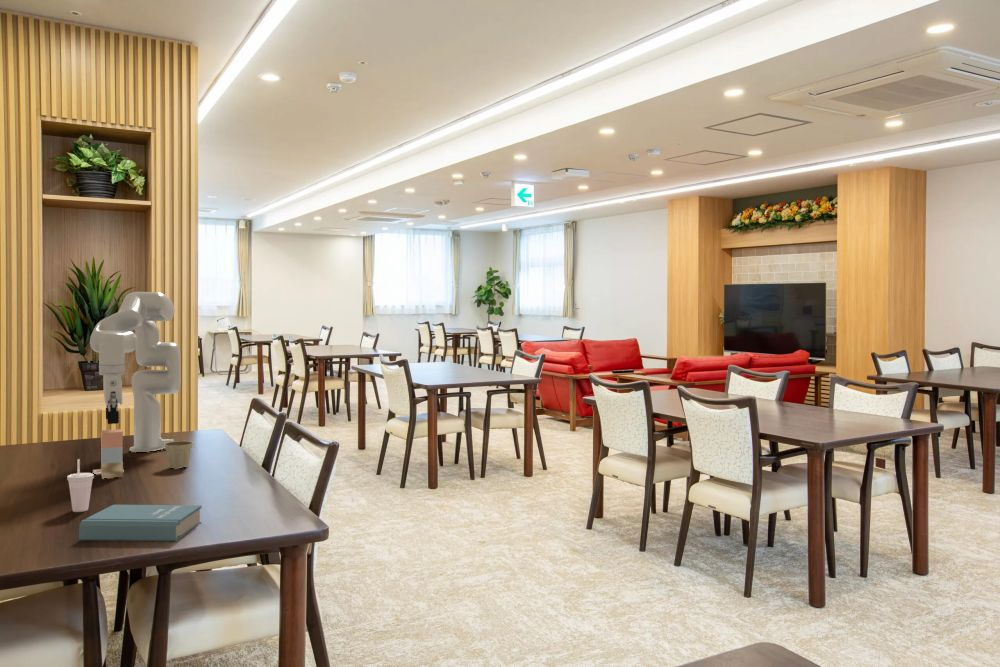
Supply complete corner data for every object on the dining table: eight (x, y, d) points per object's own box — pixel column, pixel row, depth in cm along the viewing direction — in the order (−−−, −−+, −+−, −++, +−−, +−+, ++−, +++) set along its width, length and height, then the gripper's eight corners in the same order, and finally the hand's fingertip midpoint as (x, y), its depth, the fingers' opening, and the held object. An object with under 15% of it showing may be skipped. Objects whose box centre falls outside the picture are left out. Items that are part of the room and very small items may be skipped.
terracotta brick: (121, 444, 246) (121, 429, 246) (122, 446, 241) (122, 431, 241) (101, 445, 243) (101, 430, 243) (101, 448, 238) (102, 433, 238)
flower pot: (168, 471, 250) (168, 446, 250) (160, 467, 257) (160, 442, 257) (196, 468, 256) (196, 443, 256) (187, 463, 264) (187, 440, 263)
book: (201, 524, 191) (201, 505, 191) (175, 543, 175) (175, 522, 174) (113, 523, 190) (113, 504, 190) (79, 542, 174) (79, 521, 174)
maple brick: (121, 473, 246) (121, 458, 246) (122, 477, 241) (122, 462, 241) (101, 475, 243) (101, 460, 243) (102, 479, 238) (102, 463, 238)
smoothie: (76, 506, 204) (76, 456, 204) (98, 507, 204) (98, 457, 203) (61, 513, 198) (61, 461, 197) (84, 513, 197) (85, 461, 197)
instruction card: (122, 468, 254) (122, 466, 254) (123, 472, 249) (124, 470, 248) (92, 470, 250) (92, 469, 250) (93, 474, 244) (93, 473, 244)
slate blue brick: (121, 458, 246) (121, 444, 246) (122, 462, 241) (122, 446, 241) (101, 460, 243) (101, 445, 243) (101, 463, 238) (101, 448, 238)
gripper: (126, 371, 236) (127, 424, 237) (122, 367, 251) (122, 416, 252) (100, 372, 232) (100, 426, 233) (97, 367, 247) (98, 418, 248)
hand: (112, 421), depth 242 cm, fingers open, 9 cm apart
